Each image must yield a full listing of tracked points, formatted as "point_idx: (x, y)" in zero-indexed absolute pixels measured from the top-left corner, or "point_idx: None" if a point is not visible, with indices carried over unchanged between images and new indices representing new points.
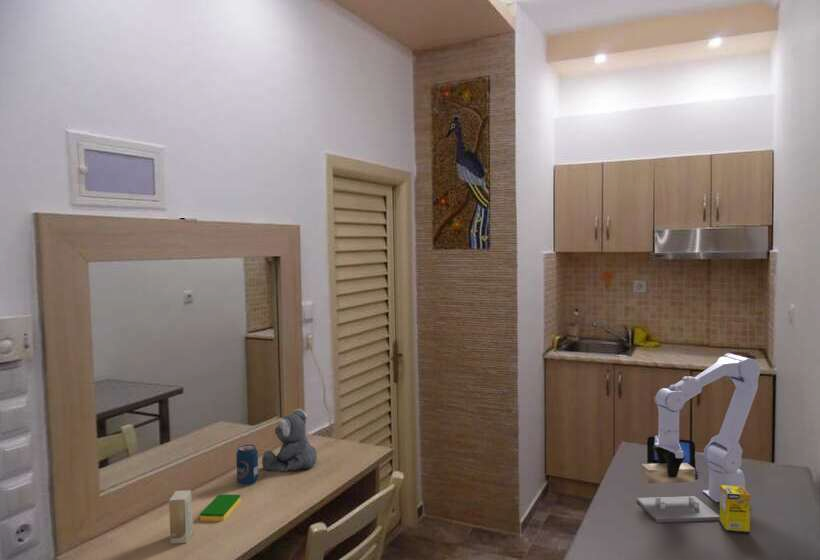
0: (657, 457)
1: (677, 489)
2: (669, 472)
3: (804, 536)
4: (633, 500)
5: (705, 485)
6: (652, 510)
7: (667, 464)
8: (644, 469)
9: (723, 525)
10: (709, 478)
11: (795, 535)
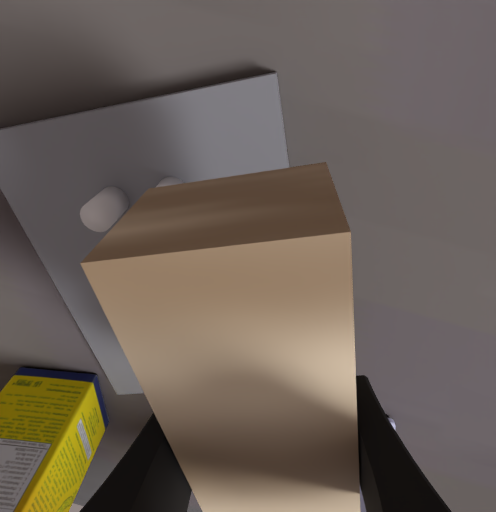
0: (429, 494)
1: (439, 344)
2: (144, 426)
3: (88, 498)
4: (289, 46)
5: (462, 443)
6: (83, 135)
7: (112, 509)
8: (237, 222)
9: (39, 379)
10: (360, 506)
11: (86, 488)
